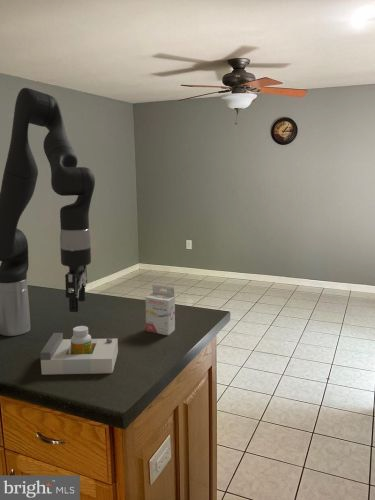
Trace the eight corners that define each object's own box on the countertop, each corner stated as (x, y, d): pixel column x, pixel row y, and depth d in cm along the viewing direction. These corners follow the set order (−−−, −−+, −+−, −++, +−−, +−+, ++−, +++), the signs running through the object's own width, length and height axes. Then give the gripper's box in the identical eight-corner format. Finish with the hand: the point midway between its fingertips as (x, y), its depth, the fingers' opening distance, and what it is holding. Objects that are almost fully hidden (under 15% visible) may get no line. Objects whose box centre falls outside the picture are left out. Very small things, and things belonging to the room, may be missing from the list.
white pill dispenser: (41, 374, 108) (40, 352, 107) (54, 352, 121) (53, 332, 120) (112, 373, 109) (111, 351, 108) (118, 351, 122) (117, 331, 121)
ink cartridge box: (145, 331, 137) (144, 287, 134) (152, 326, 141) (152, 283, 138) (168, 335, 133) (168, 291, 130) (175, 330, 138) (175, 287, 135)
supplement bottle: (87, 367, 112) (85, 333, 110) (68, 365, 113) (66, 331, 111) (95, 358, 117) (94, 325, 115) (77, 356, 118) (75, 324, 117)
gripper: (67, 241, 115) (69, 297, 118) (53, 251, 101) (56, 315, 105) (95, 241, 116) (96, 297, 119) (84, 251, 102) (86, 315, 105)
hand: (77, 306), depth 112 cm, fingers open, 8 cm apart
